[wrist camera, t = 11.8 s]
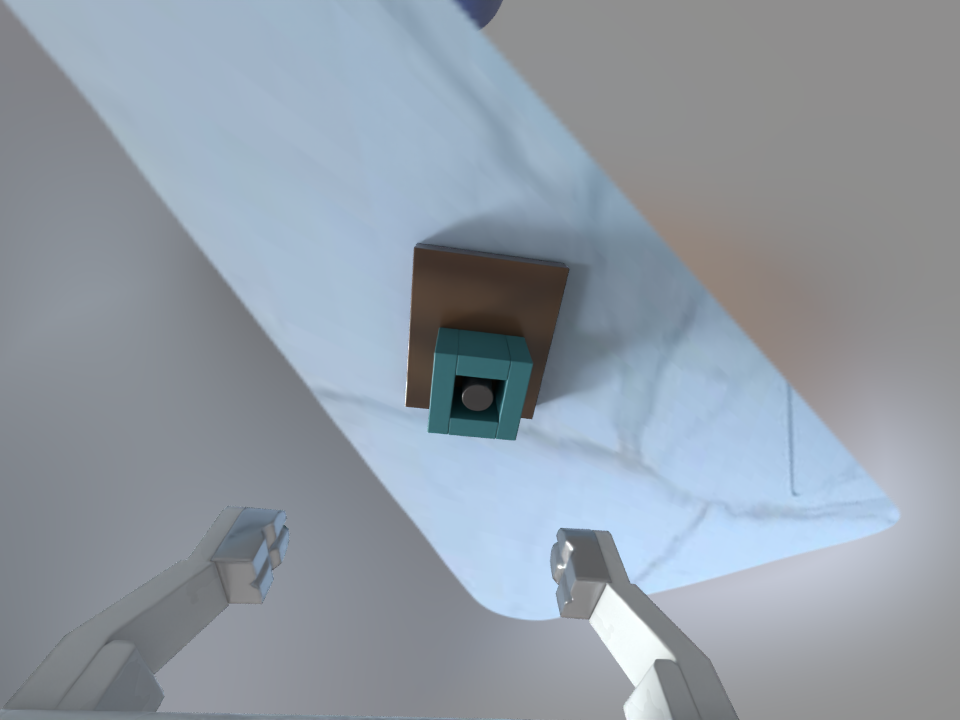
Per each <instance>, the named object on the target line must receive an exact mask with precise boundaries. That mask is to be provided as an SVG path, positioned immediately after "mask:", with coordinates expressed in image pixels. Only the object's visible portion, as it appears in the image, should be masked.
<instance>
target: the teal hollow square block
mask: <svg viewBox="0 0 960 720" xmlns="http://www.w3.org/2000/svg"><path fill="white" fill-rule="evenodd" d="M532 367H533V361H532V359H531V356H530V353H529V350H528V347H527V344H526V341H525V338H524V337H517V336H509V335H502V334H493V333H485V332H476V331H468V330H458V329H450V328H441V327H440V328H439V331H438V337H437V342H436V348H435V353H434V364H433V375H432V385H431V396H430V407H429V417H428V428H427V432H428V433H439V434H449V435H459V436H470V437H481V438H491V439H495V438H496V439H504V440H516V436H517V432H518V428H519V423H520V419H521V415H522V410H523V406H524V402H525V397H526V393H527V389H528V384H529V380H530V376H531V371H532ZM455 375H461V376H471V377H480V378H489V379H497V382H496V387H495V391H493V402H492V403H491V405H490V406H489V407H488V408H486V409H484V410H481V411H474V410H470V409H469V408H467V407H466V406H465V405H464V403H463V401H462V387H455V386H454V383H455Z"/></svg>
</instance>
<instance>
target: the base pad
mask: <svg viewBox="0 0 960 720" xmlns="http://www.w3.org/2000/svg"><path fill="white" fill-rule="evenodd" d="M568 273H569V268H568V267H567V266H566V265H565V264H564V263H557V262H550V261H542V260H535V259H528V258H521V257H513V256H506V255H499V254H492V253H484V252H477V251H470V250H463V249H455V248H448V247H441V246H433V245H426V244H419V243H417V244H416V246H415V247H414V257H413V274H412V292H411V309H410V327H409V344H408V362H407V379H406V397H405V407H414V408H425V409H429V407H430V396H431V385H432V375H433V364H434V353H435V348H436V342H437V337H438V331H439V328H440V327H441V328H450V329H458V330H468V331H476V332H485V333H493V334H502V335H509V336H517V337H524V338H525V341H526V344H527V347H528V350H529V353H530V356H531V359H532V361H533V367H532V371H531V376H530V380H529V384H528V389H527V393H526V397H525V402H524V406H523V410H522V415H521V418H526V419H532V418H533V414H534V410H535V405H536V401H537V397H538V393H539V389H540V385H541V381H542V377H543V373H544V369H545V365H546V361H547V357H548V353H549V349H550V345H551V341H552V337H553V333H554V329H555V325H556V321H557V317H558V313H559V309H560V305H561V301H562V297H563V293H564V289H565V285H566V281H567V277H568ZM496 382H497V379H489V378H480V377H471V376H461V375H455V383H454V386H455V387H462V401H463V403H464V405H465V406H466V407H467V408H469V409H470V410H474V411H481V410H484V409H486V408H488V407H489V406H490V405H491V403H492V402H493V391H495V387H496Z"/></svg>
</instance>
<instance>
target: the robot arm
mask: <svg viewBox="0 0 960 720" xmlns="http://www.w3.org/2000/svg"><path fill="white" fill-rule="evenodd" d="M285 521H286V513H285V511H283V510H272V509H261V508H250V507H237V506H227V507H226V508H225V509H224V510H222V512H221V513H220V514H219V516H218V517H217V518H216V520H215V521H214V523H213V524H212V525H211V527H210V528H209V530H208V531H207V533H206V534H205V535H204V537H203V538H202V540H201V541H200V542H199V544H198V545H197V546H196V548H195V549H194V551H193V552H192V554H191V555H190V556H189V558H188V559H187V560H180V561H178V562H177V563H175V564H174V565H172V566H171V567H169V568H168V569H166V570H165V571H163V572H162V573H160V574H159V575H157V576H156V577H154V578H152V579H151V580H149V581H148V582H146V583H145V584H143V585H142V586H140V587H139V588H137V589H135V590H134V591H133V592H131V593H129V594H128V595H126V596H125V597H123V598H122V599H120V600H119V601H117V602H116V603H114V604H113V605H111V606H109V607H108V608H106V609H105V610H103V611H102V612H100V613H99V614H97V615H96V616H94V617H93V618H91V619H90V620H88V621H86V622H85V623H83V624H82V625H80V626H79V627H77V628H76V629H74V630H73V631H71V632H69V633H68V634H66V635H65V636H64V637H63V638H62V639H61V640H60V642H59V643H58V644H57V645H56V646H55V648H54V649H53V650H52V651H51V652H50V653H49V654H48V656H47V657H46V658H45V659H44V660H43V661H42V663H41V664H40V665H39V666H38V667H37V669H36V670H35V671H34V672H33V673H32V674H31V675H30V677H29V678H28V679H27V680H26V681H25V682H24V683H23V685H22V686H21V687H20V688H19V689H18V690H17V692H16V693H15V694H14V695H13V696H12V698H11V699H10V700H9V701H8V702H7V703H6V705H5V706H4V707H3V708H2V709H0V720H527V719H482V718H480V719H479V718H432V717H384V716H383V717H381V716H335V715H333V716H332V715H285V714H284V715H283V714H235V713H231V714H230V713H184V712H156V711H157V709H158V707H159V706H160V704H161V702H162V700H163V699H164V692H163V689H162V687H161V686H160V684H159V682H158V681H157V679H156V677H155V676H154V674H155V673H156V672H158V671H159V670H160V669H161V668H162V667H163V666H164V665H165V664H166V663H167V662H168V661H169V660H170V659H172V658H173V657H174V656H175V655H176V654H177V653H178V652H179V651H180V650H181V649H182V648H183V647H184V646H186V645H187V644H188V643H189V642H190V641H191V640H192V639H193V638H194V637H195V636H196V635H197V634H199V633H200V632H201V631H202V630H203V629H204V628H205V627H206V626H207V625H208V624H209V623H210V622H212V621H213V620H214V619H215V618H216V617H217V616H218V615H219V614H220V613H221V612H222V611H223V610H225V609H226V608H227V607H228V605H229V604H262V603H263V601H264V599H265V597H266V595H267V592H268V590H269V588H270V586H271V584H272V582H273V580H274V578H273V573H272V570H274V569H275V568H276V567H277V566H279V565H280V564H281V563H282V561H283V558H284V556H285V554H286V551H287V547H288V543H289V530H288V528H287V527H286V526H285V525H284V523H285ZM556 536H557V541H558V542H557V543H555V544H554V545H553V547H552V550H551V559H550V564H551V572H552V577H553V579H554V580H555V582H556V583H557V584H558V585H559V586H558V589H557V591H556V597H557V602H558V607H559V611H560V616H561V617H562V618H576V619H589V622H590V624H591V625H592V626H593V628H594V629H595V631H596V632H597V633H598V635H599V636H600V638H601V639H602V641H603V642H604V643H605V645H606V646H607V648H608V649H609V651H610V652H611V653H612V655H613V656H614V658H615V659H616V660H617V662H618V663H619V665H620V666H621V668H622V669H623V670H624V672H625V673H626V675H627V676H628V678H629V679H630V680H631V682H632V683H633V685H634V686H635V690H634V691H633V692H632V694H631V695H630V697H629V698H628V700H627V701H626V703H625V704H624V706H623V709H624V712H625V716H626V720H739V718H738V716H737V715H736V712H735V710H734V708H733V706H732V704H731V702H730V700H729V698H728V696H727V694H726V691H725V689H724V688H723V685H722V683H721V681H720V679H719V677H718V675H717V673H716V671H715V669H714V667H713V665H712V663H711V661H710V659H709V658H708V657H707V656H706V655H705V654H704V653H703V652H702V651H701V650H700V649H699V648H698V647H697V646H696V645H695V644H694V643H693V642H692V641H691V640H690V639H689V638H688V637H687V636H686V635H685V634H684V633H683V632H682V631H681V630H680V629H679V628H678V627H677V626H676V625H675V624H674V623H673V622H672V621H671V620H670V619H669V618H668V617H667V616H666V615H665V614H664V613H663V612H662V611H661V610H660V609H659V608H658V607H657V606H656V605H655V604H654V603H653V602H652V601H651V600H650V599H649V598H648V596H647V595H646V594H645V593H644V592H643V591H642V590H641V589H640V588H639V587H638V586H637V585H636V584H630V581H629V579H628V576H627V573H626V571H625V568H624V566H623V563H622V561H621V558H620V556H619V553H618V550H617V548H616V545H615V543H614V540H613V538H612V535H611V534H610V532H609V531H600V530H591V529H570V528H560V529H559V530H558V533H557V535H556ZM528 720H531V719H528Z"/></svg>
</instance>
